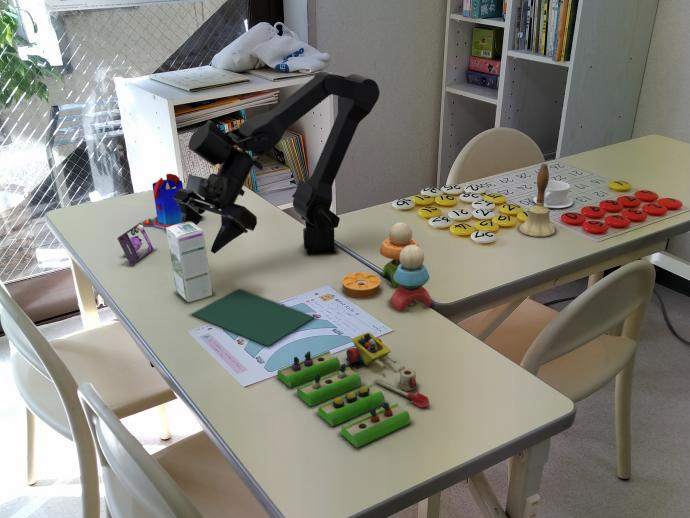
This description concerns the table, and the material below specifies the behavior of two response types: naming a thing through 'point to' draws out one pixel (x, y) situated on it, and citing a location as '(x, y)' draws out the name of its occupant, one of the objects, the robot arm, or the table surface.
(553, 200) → the teacup
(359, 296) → the wooden stacking toy
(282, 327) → the green mat
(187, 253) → the syrup box
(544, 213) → the hand bell
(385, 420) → the toy garden set
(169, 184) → the fantasy tower
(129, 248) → the game card
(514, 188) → the table surface
